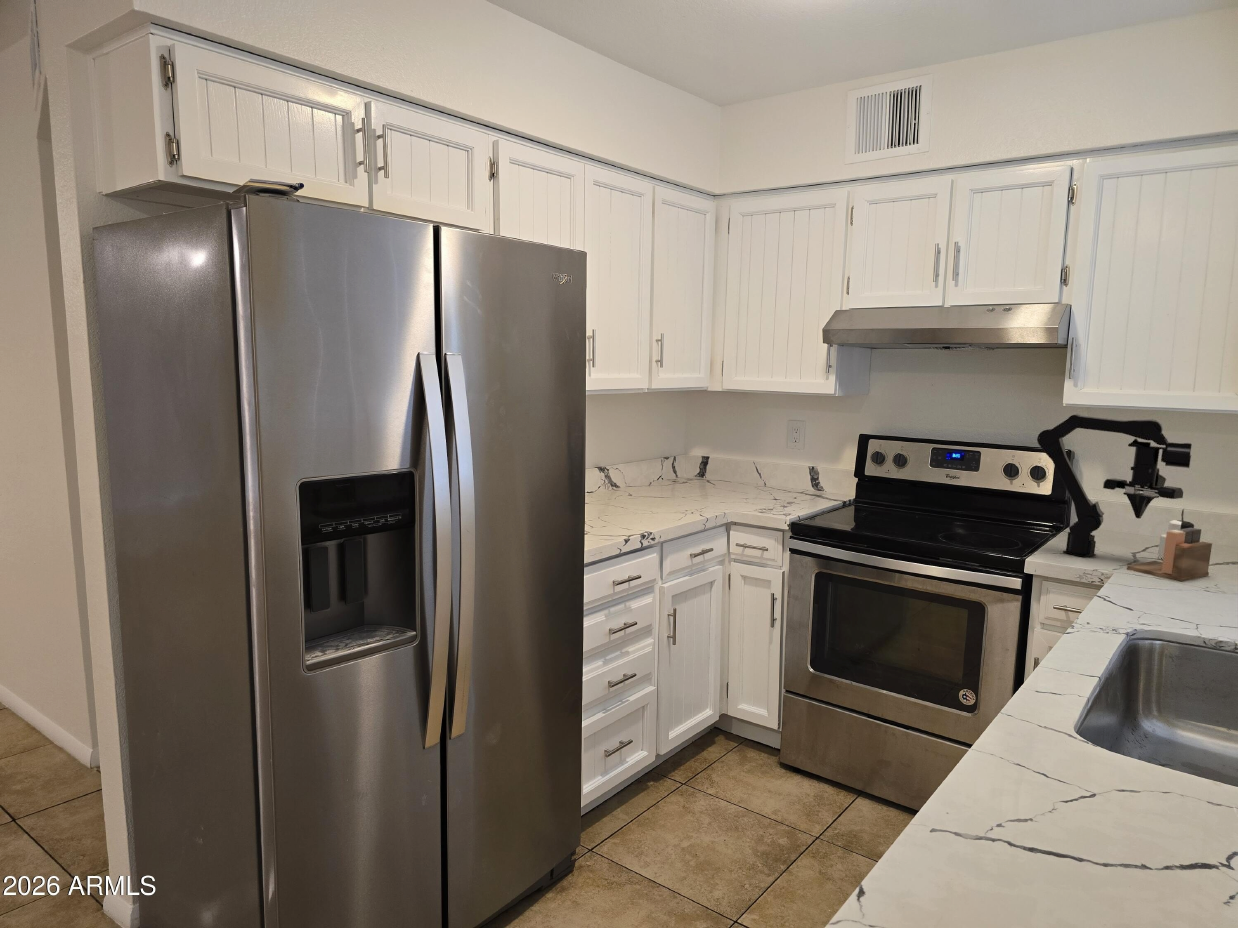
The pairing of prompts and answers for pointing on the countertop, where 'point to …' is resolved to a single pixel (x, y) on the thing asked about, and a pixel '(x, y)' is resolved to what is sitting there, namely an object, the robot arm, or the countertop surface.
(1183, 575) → the brown wooden book holder
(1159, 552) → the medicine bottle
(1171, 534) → the orange rectangular block
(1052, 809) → the countertop surface
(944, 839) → the countertop surface
